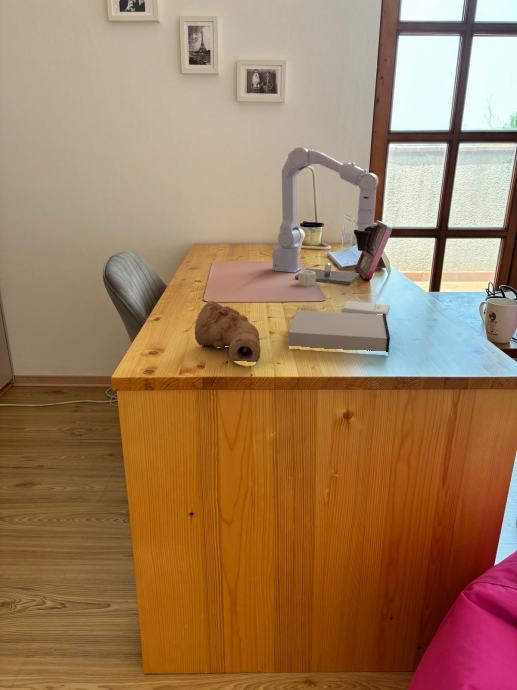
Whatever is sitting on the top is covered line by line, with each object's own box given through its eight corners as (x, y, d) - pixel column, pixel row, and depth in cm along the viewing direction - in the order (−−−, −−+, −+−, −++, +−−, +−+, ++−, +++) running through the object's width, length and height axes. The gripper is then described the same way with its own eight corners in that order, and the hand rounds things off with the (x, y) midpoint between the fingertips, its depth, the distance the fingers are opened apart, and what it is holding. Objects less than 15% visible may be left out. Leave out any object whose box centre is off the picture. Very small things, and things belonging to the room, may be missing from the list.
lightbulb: (304, 252, 229) (305, 227, 225) (304, 254, 223) (305, 229, 219) (290, 252, 229) (291, 227, 225) (290, 254, 224) (291, 229, 220)
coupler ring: (296, 284, 172) (296, 273, 171) (301, 281, 177) (302, 269, 176) (312, 286, 170) (312, 274, 169) (317, 282, 175) (317, 271, 174)
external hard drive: (347, 305, 152) (389, 309, 148) (342, 313, 144) (386, 317, 141) (347, 300, 151) (390, 304, 147) (342, 307, 144) (387, 312, 140)
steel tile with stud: (295, 279, 180) (295, 264, 178) (307, 271, 192) (307, 257, 191) (350, 284, 173) (351, 269, 171) (359, 276, 185) (360, 261, 183)
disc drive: (388, 358, 112) (390, 337, 111) (287, 351, 116) (288, 331, 114) (384, 332, 129) (385, 313, 127) (295, 327, 132) (296, 308, 130)
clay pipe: (252, 352, 124) (193, 334, 123) (266, 312, 121) (205, 293, 119) (250, 383, 106) (182, 362, 105) (267, 337, 103) (196, 315, 101)
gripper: (374, 212, 168) (370, 253, 173) (381, 208, 180) (378, 246, 185) (353, 211, 170) (350, 251, 175) (362, 207, 183) (359, 245, 188)
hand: (363, 249), depth 180 cm, fingers open, 7 cm apart
